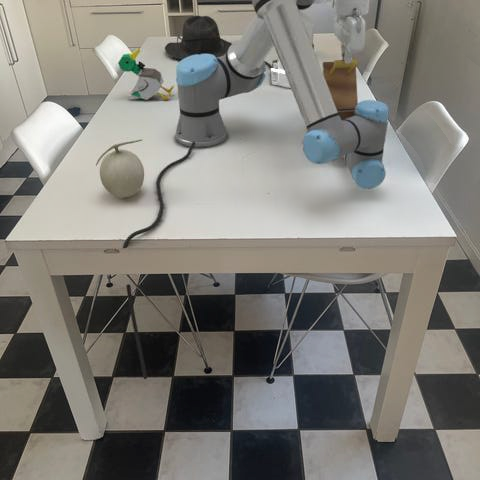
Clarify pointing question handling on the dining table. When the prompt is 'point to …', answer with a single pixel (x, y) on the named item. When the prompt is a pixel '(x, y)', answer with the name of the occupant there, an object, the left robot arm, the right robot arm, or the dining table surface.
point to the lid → (342, 83)
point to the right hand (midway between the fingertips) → (346, 61)
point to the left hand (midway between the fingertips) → (337, 116)
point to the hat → (198, 39)
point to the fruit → (121, 171)
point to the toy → (143, 77)
